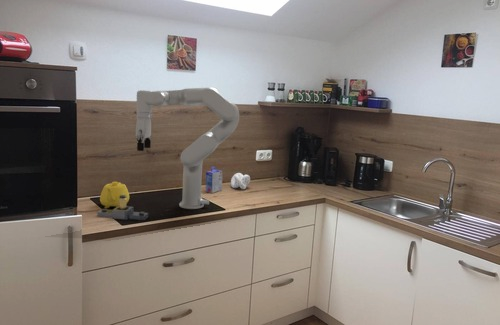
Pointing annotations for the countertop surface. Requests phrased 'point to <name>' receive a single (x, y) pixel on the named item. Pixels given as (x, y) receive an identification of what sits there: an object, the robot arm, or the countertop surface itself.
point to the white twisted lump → (240, 181)
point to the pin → (122, 202)
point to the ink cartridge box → (213, 180)
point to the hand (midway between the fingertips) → (144, 149)
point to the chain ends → (122, 214)
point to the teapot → (113, 194)
